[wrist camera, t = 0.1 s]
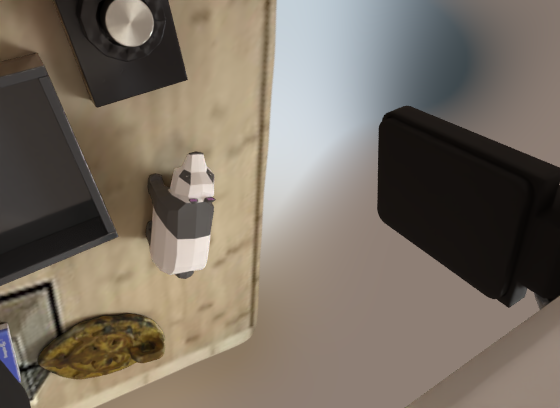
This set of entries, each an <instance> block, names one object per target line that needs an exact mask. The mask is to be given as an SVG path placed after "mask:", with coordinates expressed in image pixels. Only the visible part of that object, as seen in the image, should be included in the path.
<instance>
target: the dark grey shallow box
mask: <svg viewBox="0 0 560 408" xmlns="http://www.w3.org/2000/svg"><path fill="white" fill-rule="evenodd" d="M117 237H118V234H117V232H116V229H115V227H114V225H113V222H112V220H111V218H110V216H109V213H108V211H107V209H106V206H105V204H104V202H103V200H102V197H101V195H100V193H99V190H98V188H97V186H96V183H95V181H94V179H93V177H92V174H91V172H90V170H89V167H88V165H87V163H86V160H85V158H84V156H83V154H82V151H81V149H80V147H79V144H78V142H77V140H76V137H75V135H74V133H73V131H72V128H71V126H70V124H69V121H68V119H67V117H66V115H65V112H64V110H63V108H62V105H61V103H60V101H59V98H58V96H57V94H56V92H55V89H54V87H53V85H52V82H51V80H50V78H49V76H48V73H47V71H46V69H45V66H44V64H43V62H42V60H41V59H40V57H39V55H38V53H34V54H30V55H26V56H22V57H18V58H14V59H10V60H6V61H2V62H0V286H2V285H4V284H6V283H9V282H11V281H14V280H16V279H18V278H21V277H23V276H26V275H28V274H30V273H33V272H35V271H38V270H40V269H42V268H45V267H47V266H50V265H52V264H54V263H57V262H59V261H62V260H64V259H66V258H69V257H71V256H74V255H76V254H78V253H81V252H83V251H86V250H88V249H90V248H93V247H95V246H98V245H100V244H102V243H105V242H107V241H110V240H112V239H114V238H117Z"/></svg>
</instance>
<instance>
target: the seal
mask: <svg viewBox="0 0 560 408" xmlns="http://www.w3.org/2000/svg"><path fill="white" fill-rule="evenodd" d="M164 340H165V336H164V334H163V332H162V330H161V328H160V327H159V326H158V325H157V324H156V323H155V322H154V321H153V320H151V319H149V318H147V317H144V316H142V315H137V314H124V315H119V316H101V317H99V318H95V319H92V320H87V321H84V322H82V323H79V324H77V325H75V326H73V327H72V328H70V329H69V330H68V331H67V332H65V333H64V334H62V335H61V336H59V337H57V338H56V339H54V340H53V341H52V342H51V343H50V344H49V345H48V346H47V347H45V348H44V350H43V351H42V352H41V354H40V355H39V358H38V364H39V365H40V366H41V367H43V368H45V369H46V370H49V371H51V372H52V373H54V374H57V375H59V376H62V377H66V378H71V379H86V378H92V377H98V376H102V375H107V374H110V373H113V372H116V371H119V370H122V369H124V368H127V367H129V366H131V365H132V364H134V363H136V362H138V363H146V362H150V361H153V360H157V359H159V358H161V357H162V356H163V355H164V352H165V345H164Z"/></svg>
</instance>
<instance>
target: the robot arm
mask: <svg viewBox="0 0 560 408" xmlns="http://www.w3.org/2000/svg"><path fill="white" fill-rule="evenodd" d="M378 147H379V148H378V204H377V210H378V214H379V216H380V218H381V219H382V221H383V222H384V223H386V224H387V225H388V226H390V227H391V228H392V229H394V230H395V231H397V232H398V233H399V234H401V235H402V236H404V237H405V238H406V239H408V240H409V241H410V242H412V243H413V244H415V245H416V246H417V247H419V248H420V249H422V250H423V251H425V252H426V253H427V254H429V255H430V256H431V257H433V258H434V259H436V260H437V261H438V262H440V263H441V264H443V265H444V266H445V267H447V268H448V269H449V270H451V271H452V272H454V273H455V274H456V275H458V276H459V277H461V278H462V279H463V280H465V281H466V282H468V283H469V284H470V285H472V286H473V287H474V288H476V289H477V290H479V291H480V292H481V293H483V294H484V295H486V296H487V297H489V298H492V299H497V300H498V301H500V302H501V303H503V304H504V305H506V306H507V307H508V308H509V307H511V306H512V305H514V304H515V303H517V302H518V301H520V300H521V299H522V298H524V297H525V294H526V291H527V288H528V289H529V290H531V291H533V292H534V294H535V298H536V301H537V303H538V306H539V308H540V310H539V311H538V312H537V313H535V314H534V315H533V316H531V317H530V318H528V319H527V320H526V321H524V322H523V323H521V324H520V325H519V326H517V327H516V328H514V329H513V330H512V331H510V332H509V333H507V334H506V335H505V336H503V337H502V338H500V339H499V340H498V341H497V342H495V343H493V344H492V345H491V346H489V347H488V348H487V349H485V350H484V351H482V352H481V353H480V354H478V355H477V356H475V357H474V358H473V359H471V360H470V361H469V362H467V363H466V364H465V365H463V366H462V367H460V368H459V369H458V370H456V371H455V372H453V373H452V374H451V375H449V376H448V377H447V378H445V379H444V380H443V381H441V382H440V383H438V384H437V385H435V386H434V387H433V388H431V389H430V390H429V391H427V392H426V393H424V394H423V395H422V396H420V397H419V398H418V399H416V400H415V401H413V402H412V403H411V404H409V405H408V406H407V407H405V408H560V185H559V184H560V168H559V167H557V166H554V165H552V164H550V163H547V162H545V161H542V160H540V159H537V158H535V157H532V156H530V155H528V154H525V153H522V152H520V151H518V150H515V149H513V148H511V147H508V146H506V145H503V144H501V143H498V142H496V141H493V140H491V139H488V138H486V137H484V136H481V135H479V134H477V133H474V132H471V131H469V130H467V129H464V128H462V127H459V126H457V125H455V124H452V123H450V122H447V121H445V120H442V119H440V118H438V117H435V116H433V115H430V114H427V113H425V112H423V111H420V110H418V109H415V108H413V107H411V106H403V107H401V108H398V109H396V110H394V111H391V112H388V113H386V114H385V115H384V117H383V119H382V122H381V123H380V125H379V146H378ZM0 408H31V406H30V402H29V398H28V396H27V393H26V391H25V390H24V388H23V387H22V385H21V384H20V383H19V382H18V380H17V379H16V378H15V377H14V375H13V374H12V373H11V372H10V371H9V369H8V368H7V367H6V366H5V364H4V363H3V362H2V361H1V360H0Z"/></svg>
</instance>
